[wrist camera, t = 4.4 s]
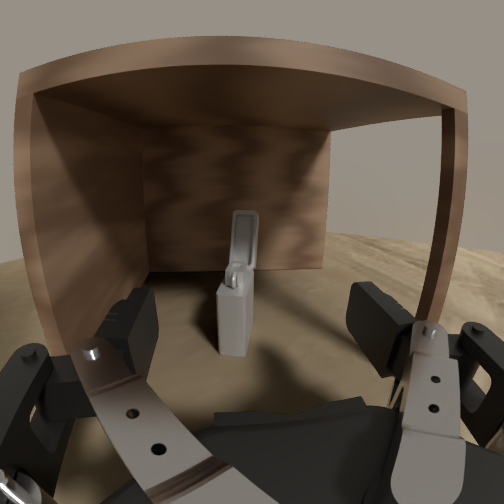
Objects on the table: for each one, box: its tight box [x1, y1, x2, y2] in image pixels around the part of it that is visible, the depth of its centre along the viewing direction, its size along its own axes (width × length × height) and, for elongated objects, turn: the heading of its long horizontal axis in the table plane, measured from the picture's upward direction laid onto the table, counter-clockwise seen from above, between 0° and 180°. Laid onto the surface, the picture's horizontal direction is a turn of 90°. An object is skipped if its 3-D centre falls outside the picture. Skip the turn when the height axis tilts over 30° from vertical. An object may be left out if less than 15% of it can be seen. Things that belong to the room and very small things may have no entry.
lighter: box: [216, 210, 259, 357], centre depth 19 cm, size 7×2×8 cm, turn 174°
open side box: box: [13, 36, 468, 356], centre depth 20 cm, size 20×20×16 cm
